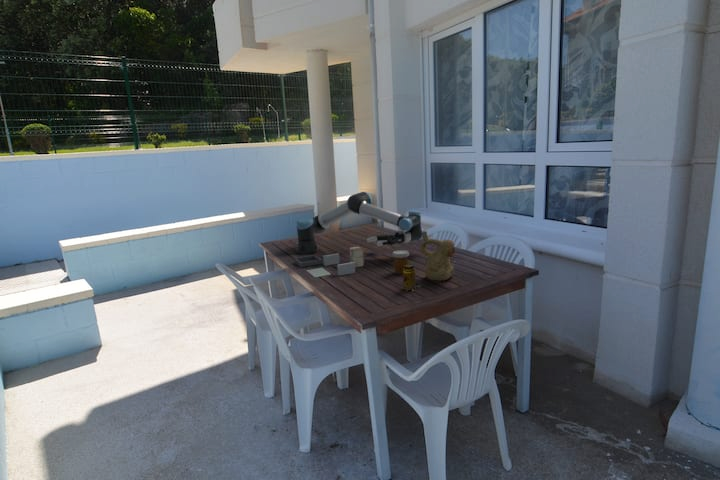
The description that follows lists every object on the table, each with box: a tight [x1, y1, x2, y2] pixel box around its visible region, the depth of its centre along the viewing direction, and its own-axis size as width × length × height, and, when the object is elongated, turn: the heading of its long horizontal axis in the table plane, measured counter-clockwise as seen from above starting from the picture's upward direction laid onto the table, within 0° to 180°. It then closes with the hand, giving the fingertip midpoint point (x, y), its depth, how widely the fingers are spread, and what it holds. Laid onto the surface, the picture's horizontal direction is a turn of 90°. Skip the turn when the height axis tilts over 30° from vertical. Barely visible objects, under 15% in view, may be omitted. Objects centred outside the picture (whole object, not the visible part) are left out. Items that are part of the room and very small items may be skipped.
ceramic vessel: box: [420, 230, 457, 282], centre depth 228 cm, size 17×20×25 cm
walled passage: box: [322, 252, 356, 276], centre depth 257 cm, size 26×10×6 cm, turn 25°
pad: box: [305, 267, 332, 278], centre depth 252 cm, size 16×10×1 cm, turn 25°
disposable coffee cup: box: [392, 249, 410, 275], centre depth 242 cm, size 10×10×12 cm
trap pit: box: [294, 254, 324, 269], centre depth 272 cm, size 14×14×3 cm
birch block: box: [349, 246, 365, 268], centre depth 261 cm, size 6×6×11 cm
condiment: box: [402, 264, 422, 292], centre depth 216 cm, size 7×8×12 cm
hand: (372, 242), depth 263 cm, fingers open, 13 cm apart
